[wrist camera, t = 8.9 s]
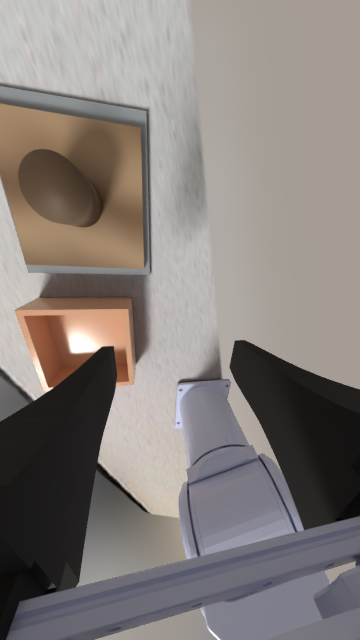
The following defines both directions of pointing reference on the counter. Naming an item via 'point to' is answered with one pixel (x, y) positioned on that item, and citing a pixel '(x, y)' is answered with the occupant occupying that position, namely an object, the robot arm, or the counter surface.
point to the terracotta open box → (77, 335)
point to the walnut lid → (73, 188)
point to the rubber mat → (96, 113)
